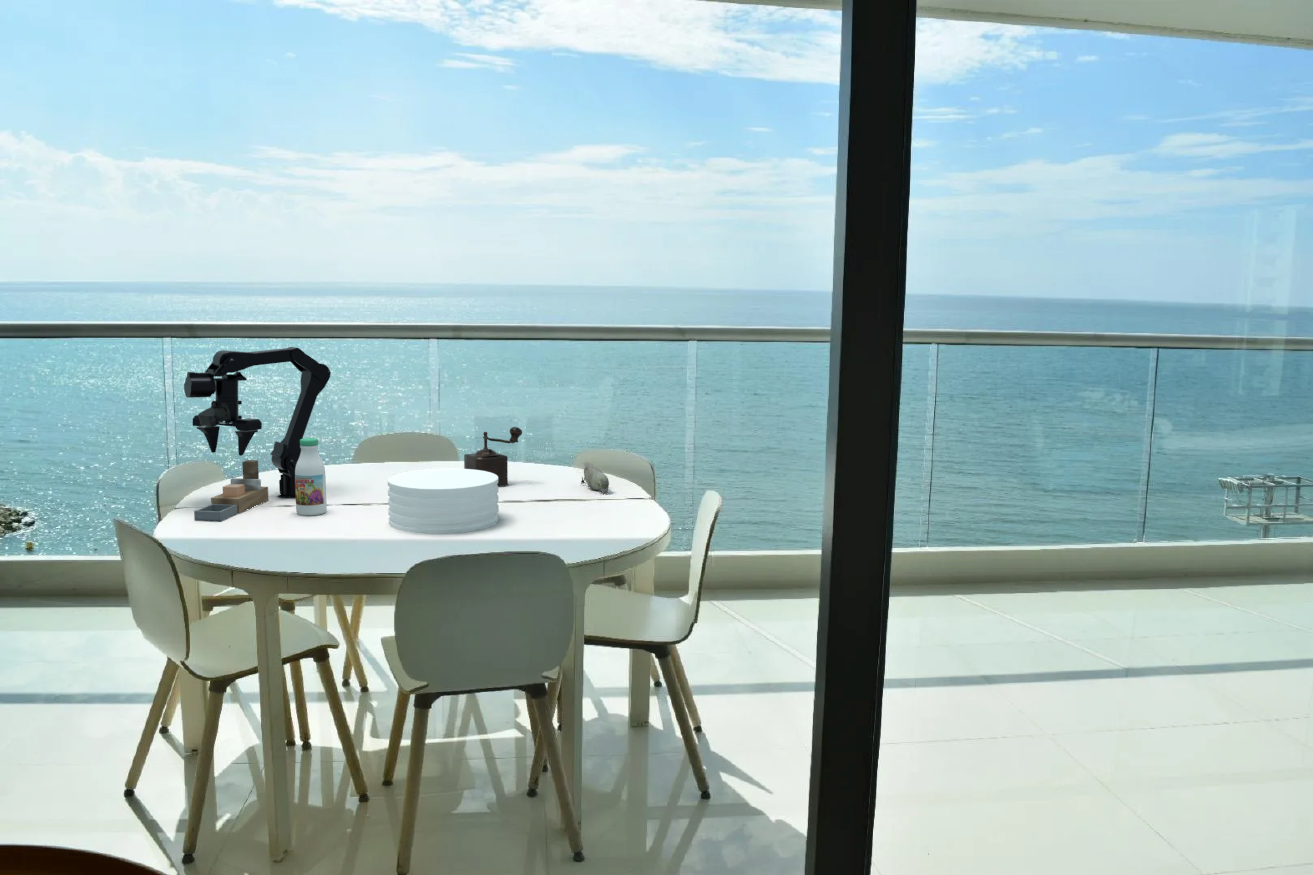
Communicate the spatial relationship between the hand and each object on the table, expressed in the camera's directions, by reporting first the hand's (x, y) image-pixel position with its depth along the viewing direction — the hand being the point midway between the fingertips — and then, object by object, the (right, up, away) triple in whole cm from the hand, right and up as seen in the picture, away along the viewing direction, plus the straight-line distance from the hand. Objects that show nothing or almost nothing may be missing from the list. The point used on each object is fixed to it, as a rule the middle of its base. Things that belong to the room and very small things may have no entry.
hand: (227, 453), depth 271 cm
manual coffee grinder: (+67, -10, +36) cm, 77 cm away
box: (+3, -16, -13) cm, 21 cm away
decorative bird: (+99, -12, +30) cm, 104 cm away
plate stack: (+62, -18, -12) cm, 66 cm away
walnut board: (+4, -14, -1) cm, 15 cm away
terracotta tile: (+4, -11, -5) cm, 12 cm away
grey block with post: (+5, -10, +4) cm, 11 cm away
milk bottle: (+25, -16, -7) cm, 31 cm away
